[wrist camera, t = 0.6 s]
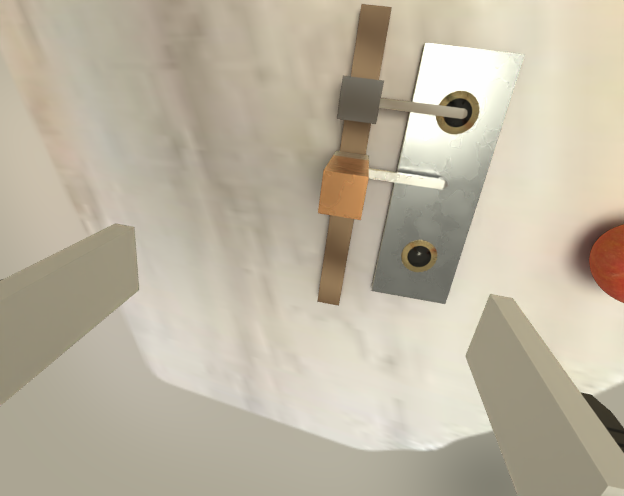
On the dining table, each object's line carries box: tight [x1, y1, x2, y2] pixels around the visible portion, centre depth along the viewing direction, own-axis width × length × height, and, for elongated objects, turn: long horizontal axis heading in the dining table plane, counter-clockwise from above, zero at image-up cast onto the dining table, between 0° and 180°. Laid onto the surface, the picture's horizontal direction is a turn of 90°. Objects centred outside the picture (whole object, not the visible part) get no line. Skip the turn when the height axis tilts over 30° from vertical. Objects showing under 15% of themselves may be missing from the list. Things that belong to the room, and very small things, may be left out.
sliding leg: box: [318, 151, 448, 220], centre depth 28 cm, size 3×10×11 cm, turn 83°
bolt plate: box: [372, 43, 525, 304], centre depth 34 cm, size 24×8×1 cm, turn 173°
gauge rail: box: [317, 4, 467, 305], centre depth 32 cm, size 28×10×7 cm, turn 173°
